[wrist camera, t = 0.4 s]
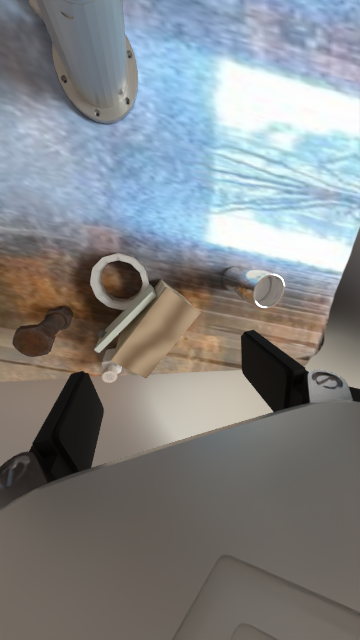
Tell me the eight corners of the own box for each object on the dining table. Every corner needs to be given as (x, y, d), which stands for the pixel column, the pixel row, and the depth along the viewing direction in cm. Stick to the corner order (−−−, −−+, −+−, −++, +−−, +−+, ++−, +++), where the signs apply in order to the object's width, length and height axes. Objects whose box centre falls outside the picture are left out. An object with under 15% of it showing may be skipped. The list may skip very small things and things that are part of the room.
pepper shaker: (121, 346, 49) (116, 368, 40) (123, 358, 50) (120, 382, 42) (105, 348, 48) (97, 371, 40) (108, 361, 50) (101, 385, 41)
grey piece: (60, 304, 39) (43, 316, 32) (117, 241, 37) (112, 240, 30) (105, 336, 44) (99, 353, 37) (158, 282, 42) (162, 289, 35)
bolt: (56, 323, 43) (17, 358, 30) (49, 302, 41) (4, 331, 28) (82, 320, 44) (56, 354, 31) (77, 300, 42) (46, 326, 29)
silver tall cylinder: (227, 296, 49) (260, 316, 36) (215, 275, 47) (246, 288, 33) (249, 281, 49) (290, 295, 35) (238, 259, 46) (278, 264, 32)
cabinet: (70, 308, 43) (46, 330, 32) (114, 241, 39) (104, 240, 29) (145, 350, 51) (146, 378, 40) (187, 297, 47) (200, 312, 36)
